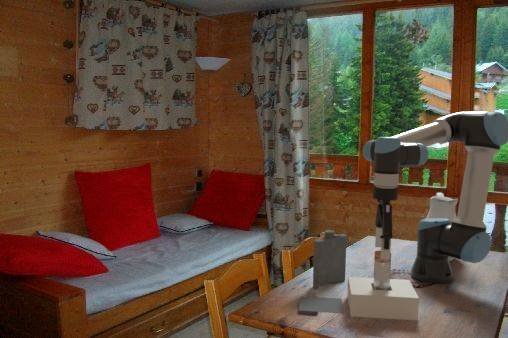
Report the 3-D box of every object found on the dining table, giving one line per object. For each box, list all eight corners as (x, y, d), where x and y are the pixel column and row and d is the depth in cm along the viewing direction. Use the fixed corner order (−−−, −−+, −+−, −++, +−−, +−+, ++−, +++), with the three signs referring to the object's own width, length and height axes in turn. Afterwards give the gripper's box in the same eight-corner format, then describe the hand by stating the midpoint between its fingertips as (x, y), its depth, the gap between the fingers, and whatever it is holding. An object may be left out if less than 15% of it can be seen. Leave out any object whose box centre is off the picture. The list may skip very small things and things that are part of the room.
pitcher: (462, 265, 201) (466, 200, 198) (420, 261, 206) (423, 197, 203) (455, 250, 224) (459, 191, 221) (417, 247, 229) (420, 189, 226)
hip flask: (317, 289, 173) (318, 235, 170) (309, 286, 176) (310, 232, 173) (346, 280, 182) (348, 228, 180) (338, 277, 186) (340, 226, 183)
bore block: (407, 302, 161) (409, 279, 160) (417, 323, 145) (419, 298, 144) (347, 299, 164) (348, 276, 163) (350, 319, 148) (351, 294, 147)
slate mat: (341, 301, 162) (341, 298, 162) (343, 316, 150) (343, 313, 150) (300, 299, 164) (300, 296, 164) (298, 313, 152) (298, 310, 152)
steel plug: (387, 305, 156) (389, 250, 154) (389, 311, 152) (392, 255, 149) (371, 304, 157) (373, 250, 155) (373, 310, 152) (375, 254, 150)
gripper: (368, 180, 162) (366, 242, 165) (378, 192, 138) (374, 264, 140) (391, 181, 162) (388, 243, 164) (405, 193, 137) (401, 265, 139)
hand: (382, 252), depth 152 cm, fingers open, 13 cm apart
